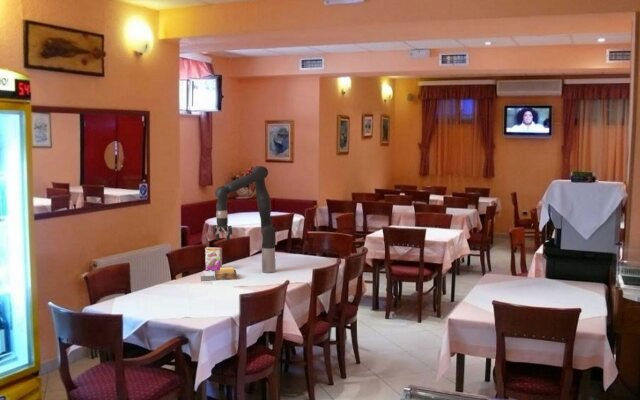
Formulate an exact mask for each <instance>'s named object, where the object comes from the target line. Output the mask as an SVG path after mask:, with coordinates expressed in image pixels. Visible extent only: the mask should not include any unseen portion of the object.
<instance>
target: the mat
mask: <svg viewBox="0 0 640 400" xmlns="http://www.w3.org/2000/svg"><path fill="white" fill-rule="evenodd" d="M207 281H208V282H209V281H210V282H212V281H216V280H215V275H201V276H200V282H207Z"/></svg>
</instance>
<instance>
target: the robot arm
mask: <svg viewBox="0 0 640 400" xmlns="http://www.w3.org/2000/svg"><path fill="white" fill-rule="evenodd" d="M268 175H269V170H268V169H267V167H265V166H262V165H256V166H254V167H253V168H252V172H251V173H249V174H247V175H244V176H242V177H239V178H236V179H234V180H232V181H231V182H229V183H227V184H224V185H221V186H219V187H217V188H216V189H215V191H214V195H215V197H217V201H216V204H215V205H216V206H215V207H216V213H215V215H216V224H213V227H212V228H213V231H212V233H213V234H215V240H216V241H220V233H224V234H226V241H227V242H229V241H230V240H231V235H233V227H232V225H228V224H229V220H228V219H229V218H228V207H227V206H228V195H229V194H231V193H235V192H237V191H239V190H240V189H242V188H245V187H246V186H248V185H250V184H252V183H254V187H255V193H256V202H257V204H256V205H257V209H258V214H259V218H260V233H261V235H262V241H261V243H262V244H261V272H262V273H266V274H267V273H269V274H271V273H276V235H277V234H276V229H275V227H274V226H273V222H272V218H271V217H272V216H271V215H272V212H271V211H272V204H271V197H270V194H269V191H268V189H267V186H266V181H265V179H266V178H267V177H268Z"/></svg>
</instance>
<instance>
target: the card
mask: <svg viewBox="0 0 640 400" xmlns="http://www.w3.org/2000/svg"><path fill="white" fill-rule="evenodd" d="M234 270H235V268H234V266H230V267H229V266H228V267H222V268H220V273H234Z"/></svg>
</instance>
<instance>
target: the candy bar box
mask: <svg viewBox="0 0 640 400" xmlns="http://www.w3.org/2000/svg"><path fill="white" fill-rule="evenodd" d="M204 250H205V251H204V254H205V255H204V261H205V262H204V263H205V264H204V267H205V271H206V272H209V271H208V270H212V271H211V272H215V270H220V268H223V257H222V256H223V251H222V250H223V248H222V247H211V246H206V247H205V248H204Z"/></svg>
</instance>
